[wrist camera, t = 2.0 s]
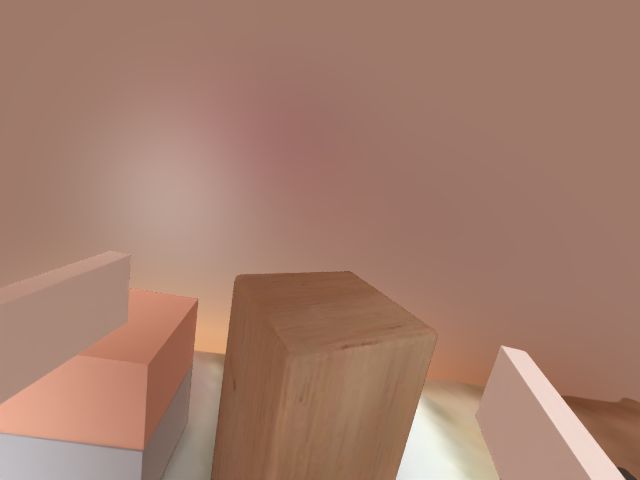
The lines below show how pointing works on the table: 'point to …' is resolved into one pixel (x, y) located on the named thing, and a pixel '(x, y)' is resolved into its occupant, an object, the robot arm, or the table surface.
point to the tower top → (113, 379)
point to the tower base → (96, 452)
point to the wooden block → (318, 379)
